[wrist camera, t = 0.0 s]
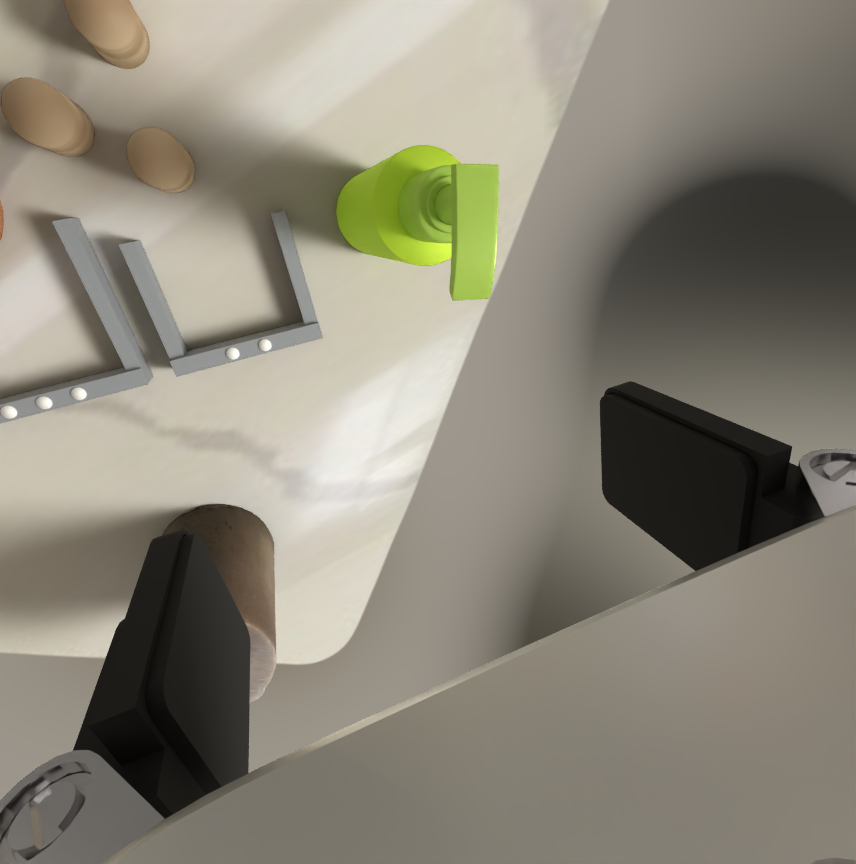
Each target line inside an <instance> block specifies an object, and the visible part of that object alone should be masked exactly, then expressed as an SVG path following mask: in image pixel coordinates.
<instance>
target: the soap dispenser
mask: <svg viewBox="0 0 856 864" xmlns="http://www.w3.org/2000/svg"><path fill="white" fill-rule="evenodd" d="M336 215H337V221H338V225H339V228H340V230H341V233H342V234H343V236H344V238H345V239H346V240H347V241H348V243H349V244H350V245H352V246H353V247H354V248H355V249H357V250H359V251H361V252H363V253H366V254H370V255H374V256H379V257H383V258H387V259H392V260H396V261H401V262H405V263H410V264H414V265H420V266H430V265H436V264H439V263H442V262H444V261H446V260H448V259H450V258H451V276H450V294H451V297H452V300H454V301H457V300H474V299H488V298H490V295H491V290H492V284H493V277H494V270H495V261H496V250H497V234H498V165H490V164H461V163H460V162H459V161H458V160H457V159H456V158H455V157H454V156H453V155H451V154H450V153H448V152H447V151H445V150H443V149H440V148H438V147H434V146H429V145H418V146H413V147H409V148H406V149H404V150H402V151H400V152H398V153H397V154H395V155H393V156H391V157H389V158H387V159H386V160H384V161H382V162H380V163H378V164H376V165H375V166H373V167H371V168H369V169H367V170H365V171H364V172H362V173H360V174H358V175H356V176H355V177H353V178H352V179H350V180H349V181H348V182H347V183H346V184H345V186H344V187H343V189H342V190H341V192H340V195H339V197H338V201H337V207H336Z"/></svg>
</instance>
